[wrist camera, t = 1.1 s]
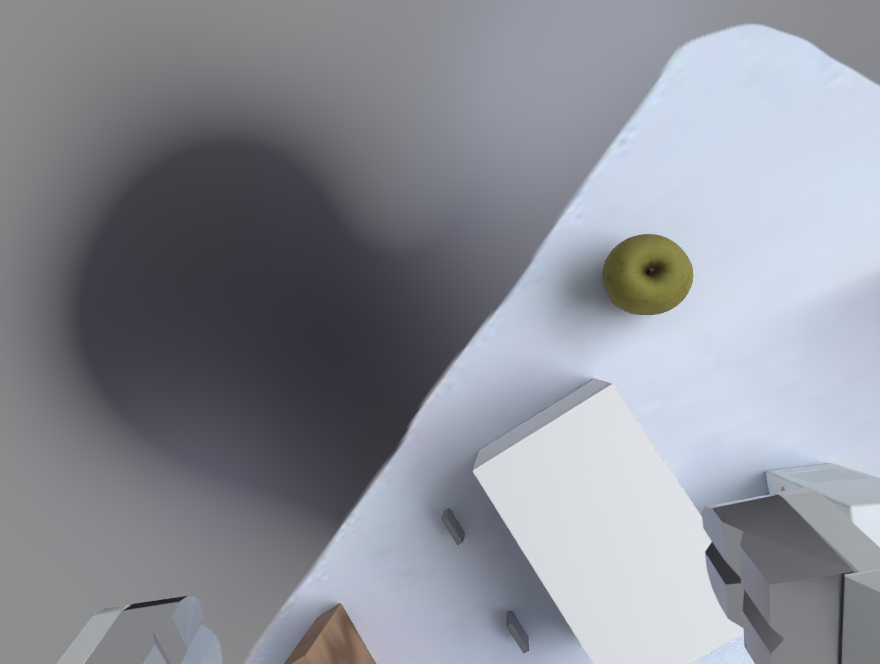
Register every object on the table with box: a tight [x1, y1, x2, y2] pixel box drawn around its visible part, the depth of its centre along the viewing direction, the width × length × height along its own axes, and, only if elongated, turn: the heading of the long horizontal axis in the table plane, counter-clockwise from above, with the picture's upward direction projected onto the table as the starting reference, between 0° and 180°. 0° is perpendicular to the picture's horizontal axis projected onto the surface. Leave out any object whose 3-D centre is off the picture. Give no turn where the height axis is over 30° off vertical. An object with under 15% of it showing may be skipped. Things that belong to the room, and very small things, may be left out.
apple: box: [603, 234, 693, 315], centre depth 51 cm, size 8×8×7 cm
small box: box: [766, 463, 880, 547], centre depth 45 cm, size 8×6×13 cm
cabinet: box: [442, 378, 744, 664], centre depth 49 cm, size 22×21×10 cm
